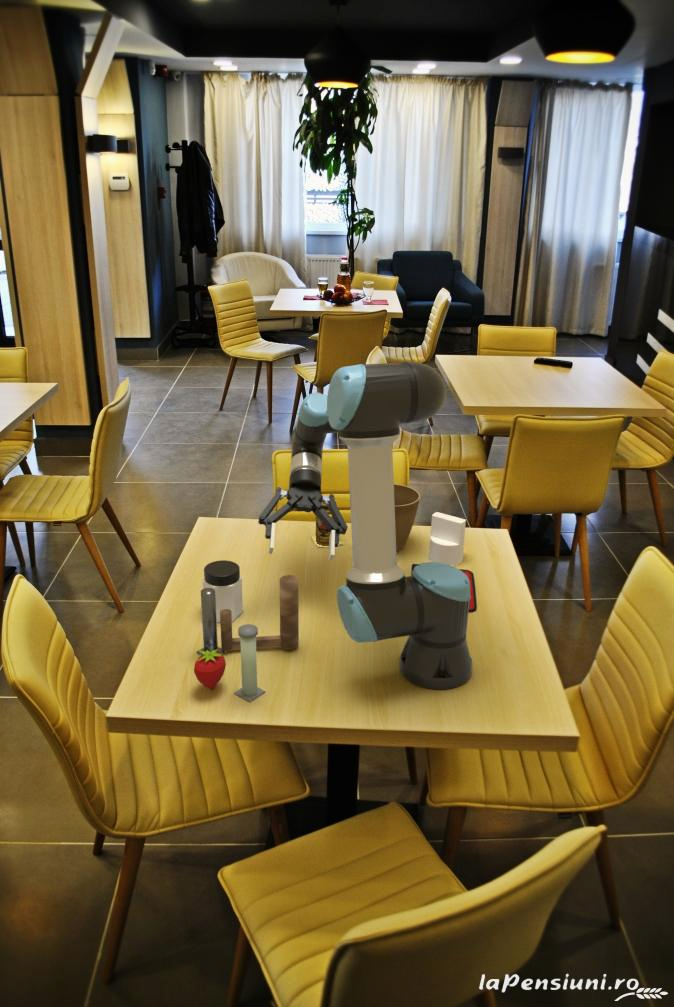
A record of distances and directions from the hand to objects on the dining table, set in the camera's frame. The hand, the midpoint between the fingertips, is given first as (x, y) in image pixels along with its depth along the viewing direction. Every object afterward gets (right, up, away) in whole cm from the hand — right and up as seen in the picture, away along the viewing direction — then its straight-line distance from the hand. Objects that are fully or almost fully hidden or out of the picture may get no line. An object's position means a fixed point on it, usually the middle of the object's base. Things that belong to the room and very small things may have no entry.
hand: (301, 554), depth 188 cm
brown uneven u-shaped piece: (-9, -20, -4) cm, 22 cm away
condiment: (+5, +1, +47) cm, 47 cm away
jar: (-19, -15, +10) cm, 26 cm away
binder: (+34, -11, +22) cm, 42 cm away
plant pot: (+22, -1, +43) cm, 49 cm away
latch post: (-10, -27, -19) cm, 34 cm away
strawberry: (-18, -26, -17) cm, 36 cm away
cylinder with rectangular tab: (+37, -4, +38) cm, 53 cm away
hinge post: (-19, -21, -5) cm, 29 cm away
